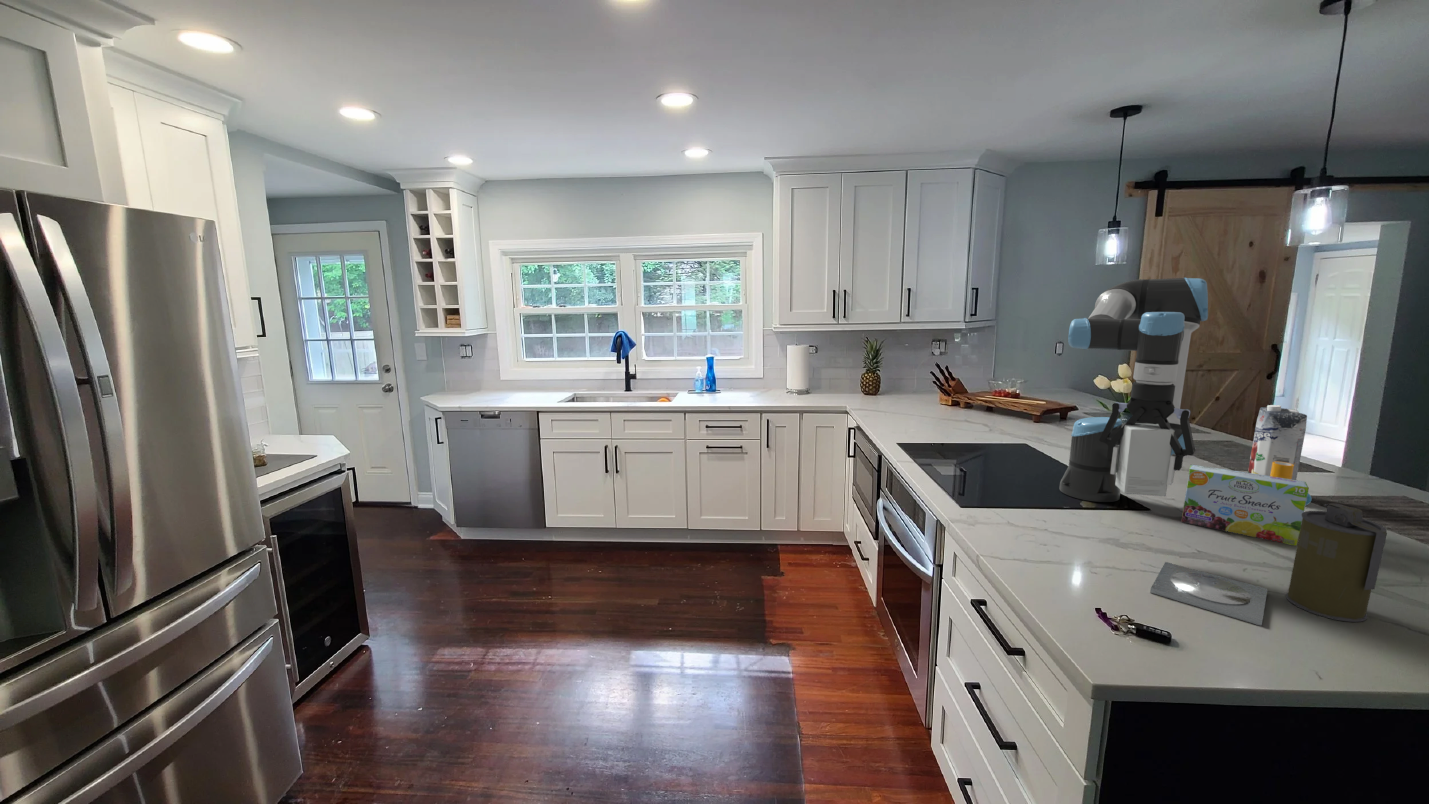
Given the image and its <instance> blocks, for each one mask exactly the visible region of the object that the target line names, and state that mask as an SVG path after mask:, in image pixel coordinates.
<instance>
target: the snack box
mask: <svg viewBox="0 0 1429 804" xmlns="http://www.w3.org/2000/svg"><path fill="white" fill-rule="evenodd" d="M1309 489H1310V488H1309V485H1308V483H1307V481H1304V480H1298V479H1296V480H1292V479H1285V478H1278V477H1272V476H1265V475H1259V474H1252V473H1248V472H1243V471H1240V470H1239V471H1238V470H1231V469H1226V468H1225V469H1224V468H1217V467H1211V466H1205V465H1199V464H1198V465H1197V464H1190V466H1189V470H1188V476H1187V485H1186V490H1185V497H1184V502H1183V508H1182V515H1181V521H1180V522H1181V523H1184V524H1190V525H1194V526H1199V527H1203V526H1204V527H1205V528H1209V529H1213V530H1219V531H1222V530H1223V531H1224V532H1227V531H1228V533H1232V532H1233V533H1232V534H1237V533H1238V534H1237V535H1241V534H1243V536H1246V535H1247V536H1246V537H1252V538H1256V537H1257V538H1256V539H1260V538H1263V539H1262V540H1265V539H1267V541H1270V540H1272V541H1271V542H1275V541H1277V542H1276V543H1280V542H1281V544H1286V545H1289V546H1293V547H1294V546H1296V547H1297V544H1298V539H1299V534H1300V529H1301V524H1302V519H1303V518H1302V513H1303V512H1305V509H1306V506H1307V505H1306V500H1307V496H1308V493H1309Z"/></svg>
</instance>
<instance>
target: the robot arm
mask: <svg viewBox="0 0 1429 804" xmlns="http://www.w3.org/2000/svg"><path fill="white" fill-rule="evenodd" d="M1208 295H1209V294H1208V283H1207V281H1206V279H1203V278H1199V277H1198V278H1196V277H1195V278H1194V277H1193V278H1192V277H1177V278H1176V277H1175V278H1174V277H1172V278H1149V279H1148V278H1147V279H1144V278H1143V279H1142V278H1140V279H1133V280H1129V281H1128V280H1127V281H1124V282H1121V283H1119V284H1115V285H1113V286H1111V287H1110V288H1108V289H1106V290H1104V291H1103V292H1102V293H1101V294H1099V296H1097V299H1096V301H1095V304H1094V309H1093V310H1092V312H1091V314H1090V315H1089V317H1088V318H1087V317H1082V318H1074V319H1073V320H1071V322H1070V325H1069V329H1068V340H1067V341H1068V345H1069V347H1070V348H1073V349H1083V350H1103V351H1104V350H1109V351H1111V350H1112V351H1132V352H1133V351H1134V352H1135V351H1136V357H1135V361H1134V369H1133V376H1132V377H1133V380H1135V381H1134V382H1132V383H1131V384H1132V385H1131V390H1130V391H1131V392H1130V398H1129V401H1128V402H1120V401H1116V402H1114V403H1112V407H1111V414H1110V416H1107V417H1106V416H1094V417H1093V416H1092V417H1085V418H1084V417H1083V418H1079V419H1078V420H1076V421H1075V422H1073V423H1074V424H1073V427H1072V432H1071V443H1070V451H1069V459H1068V461H1069V462H1068V466H1067V468H1066V470H1065V472H1064V474H1063V476H1062V478H1061V479H1060V482H1059V491H1060V492H1061V493H1063V494H1064V495H1066V496H1069V497H1071V498H1075V499H1077V500H1084V501H1090V502H1097V503H1111V502H1112V503H1113V502H1117V501H1119V500H1120V498H1121V490H1120V489H1119V488H1118V487H1117V486H1116V485H1115V482H1116V473H1117V464H1118V455H1119V446H1120V439H1121V437H1122V436H1123V435H1124V426H1125V425H1133V424H1135V423H1141V424H1159V426H1160V428H1161V429H1168V430H1170V429H1173V430H1174V431H1175V432H1174V436H1173V435H1172V434H1171V439H1170V445H1171V447H1172V451H1171V457H1170V464H1169V471H1168V478H1167V486H1172V484H1173V483H1174V478H1175V474H1176V473H1175V472H1178V471H1180V470H1181V469H1182V468H1183V467H1182V466H1183V462H1184V457H1185V456H1193V455H1194V454H1195V453H1196V447H1195V443H1194V442H1195V441H1194V438H1193V433H1192V429H1191V428H1192V427H1191V424H1190V416H1191V409H1189V408H1185V409H1182V408H1181V404H1182V396H1183V390H1184V384H1185V378H1186V377H1185V376H1186V371H1187V363H1188V358H1189V357H1188V356H1189V351H1190V343H1191V337H1192V333H1193V332H1195V331H1196V330H1197V329H1200V325H1201V322H1204V321H1207V320H1208V317H1209V304H1208V303H1209V296H1208ZM1125 409H1127V410H1128V411H1129V413H1130V414H1131V417H1130V418H1129V419H1128V420H1127V421H1126V422H1125V423H1126V424H1125V425H1124V426H1123V427H1122V423H1123V420H1122V419H1120V418H1119V417H1120V415H1121V413H1123V412H1124V411H1125Z"/></svg>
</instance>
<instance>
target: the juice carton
mask: <svg viewBox="0 0 1429 804" xmlns="http://www.w3.org/2000/svg"><path fill="white" fill-rule="evenodd" d="M1307 418H1308V415H1307V414H1305V413H1301V412H1299V411H1298V410H1297V409H1293V408H1283V407H1282V405H1278V404H1270V405H1269V404H1267V406H1264V407H1260V408H1259V411H1258V416H1257V418H1256V423H1255V428H1254V435H1253V440H1252V446H1251V447H1252V448H1251V451H1250V458H1249V464H1248V471H1247V473H1252V474H1259V475H1265V476H1270V473H1271V467H1272V462H1275V461H1277V462H1286V463H1291V464H1293V465H1294V469H1293V475H1292V480H1297V477H1298V473H1299V472H1298V471H1299V468H1300V463H1301V462H1300V461H1301V456H1302V451H1303V446H1304V440H1305V436H1306V429H1307V422H1308V421H1307V420H1308V419H1307Z"/></svg>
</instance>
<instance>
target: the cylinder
mask: <svg viewBox="0 0 1429 804" xmlns="http://www.w3.org/2000/svg"><path fill="white" fill-rule="evenodd" d="M1293 469H1294V465H1293V464H1291V463H1286V462H1277V461H1275V462H1272V467H1271V473H1270V476H1272V477H1278V478H1285V479H1292V475H1293ZM1311 502H1312V495H1311V494H1309V492H1308V496H1307V500H1306V505H1305V506H1307V505H1309V504H1311Z"/></svg>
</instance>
